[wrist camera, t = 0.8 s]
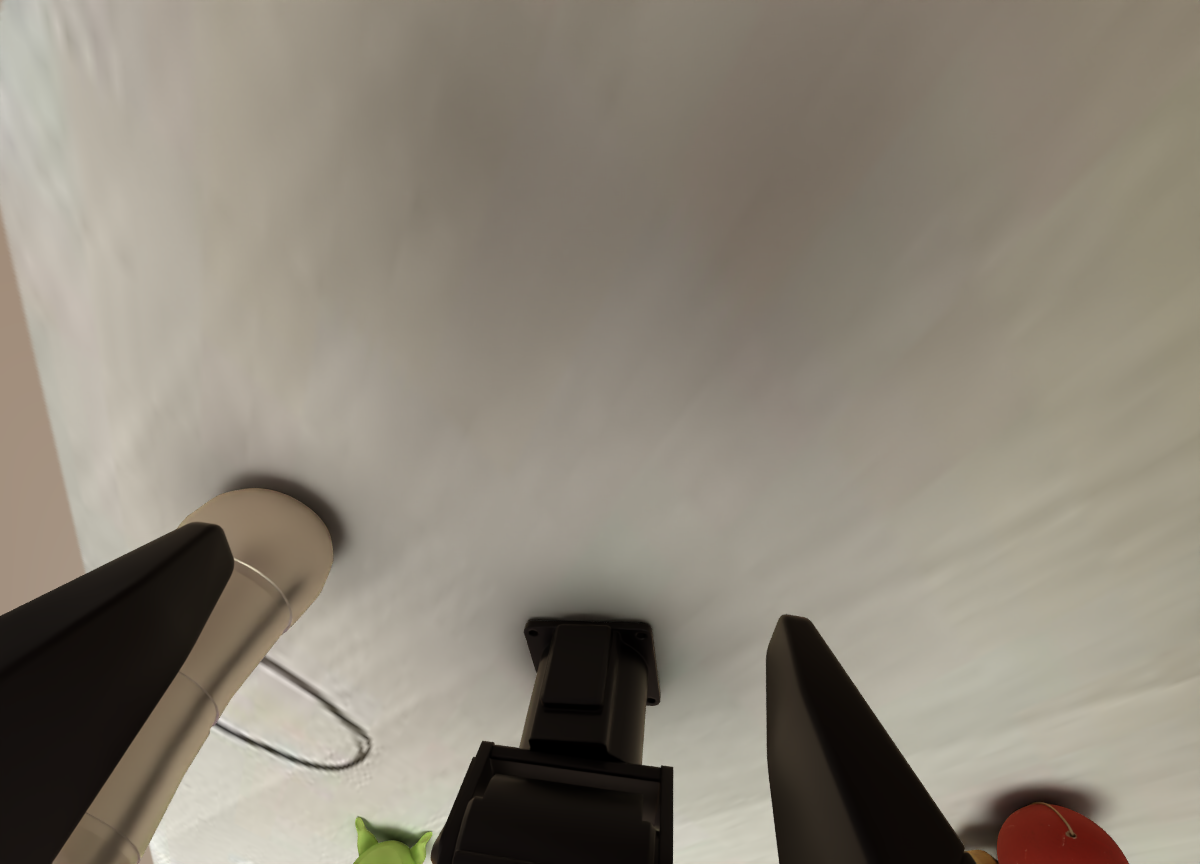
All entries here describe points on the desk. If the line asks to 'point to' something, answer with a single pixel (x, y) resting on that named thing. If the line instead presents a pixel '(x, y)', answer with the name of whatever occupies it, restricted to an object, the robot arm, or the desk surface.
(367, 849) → the green eared figurine
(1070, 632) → the desk surface
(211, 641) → the plastic bottle
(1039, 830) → the kendama
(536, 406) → the desk surface
